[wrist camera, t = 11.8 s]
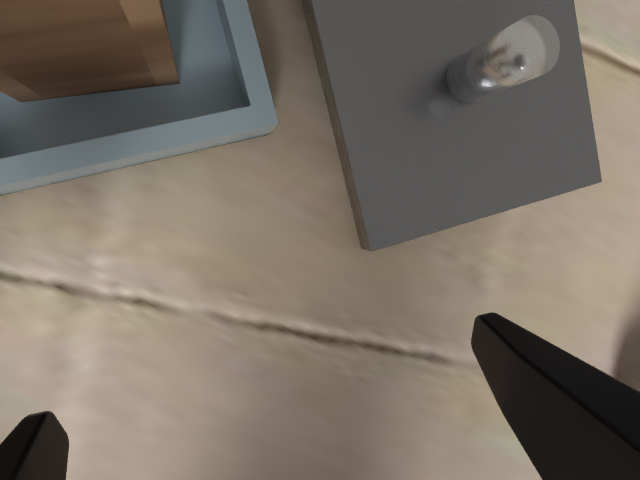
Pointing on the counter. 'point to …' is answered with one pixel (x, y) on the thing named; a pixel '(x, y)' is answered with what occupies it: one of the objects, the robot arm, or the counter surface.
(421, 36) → the plate
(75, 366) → the counter surface
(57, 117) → the slate tray
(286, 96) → the counter surface
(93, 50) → the walnut collar
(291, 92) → the counter surface
